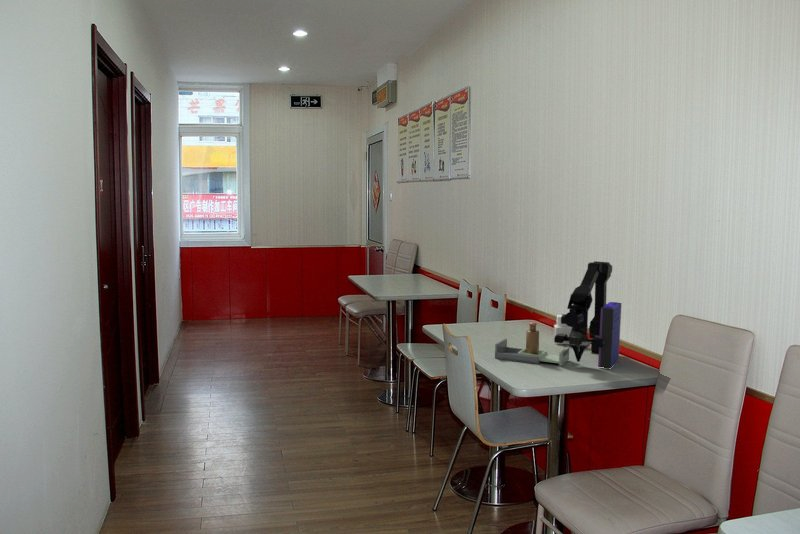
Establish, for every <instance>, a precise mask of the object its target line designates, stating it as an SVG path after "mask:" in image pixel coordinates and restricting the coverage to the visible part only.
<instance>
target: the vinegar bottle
mask: <svg viewBox="0 0 800 534" xmlns="http://www.w3.org/2000/svg"><path fill="white" fill-rule="evenodd" d="M528 325H529V329H527V330H526V331H525V348H526V353H528V354H536V355H539V350H540V330H538V329H537V322H534V321H533V322H529V323H528Z"/></svg>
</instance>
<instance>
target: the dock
mask: <svg viewBox="0 0 800 534" xmlns="http://www.w3.org/2000/svg"><path fill="white" fill-rule="evenodd" d="M523 349H524V348H519V347H513V346H511V347H510V346H508V339H507V338H504V339H502V340H500V341H498V342H496V343H495V347H494V359H497V358H499V360H505V359H507V361H512V360H513V362H521V363H527V364H537V365H539V364H540V363H542V362H543V361H539V357H532V356H524V355H518V352H520V351H521V350H523ZM546 354H548V352H547V351H546Z"/></svg>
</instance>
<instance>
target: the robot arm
mask: <svg viewBox="0 0 800 534" xmlns="http://www.w3.org/2000/svg"><path fill="white" fill-rule="evenodd" d="M587 263H588V264H587V269H586V272H585V273H584V276H583V278H582V280H581V283H580V285H579V286H577V287H575V288H574V290H573V291H572V293H571V294H570V297H569V300H568V304H567V307H566V308H567V310H569V311H568V312H567V313H566V315H565V317H564V321H565V323H566V325H568V326H570V327H572V330H571V333H570V335H569V337H568V335H567V334H560V333H559V334H557V335H556V336H555V338H554V337H553V342H554V343H555V342H556V343H562V342H564V341H569V345H568V347H571V348H572V350H573V352H574V355H575V359H576V362H578V363H579V362H581V360H582V357H583V355H584V352H585V350H586V349H587V348H589V347H590V351H591V354H596V353H599V348H601V347H603V343H604V340H603V339H599V338H600V317H601V308H602V307H603V306H605V305H606V304H607V288H608V286H607V284H608V283H607V282H608V281H609V279H610V278H611V277H612V273H613V265H612V264H611V263H610V262H608V261H595V260H594V261H593V262H587ZM593 288H594V315H593V318H592V319H591V320H590V322H589V327H588V321H589V319H588V318H589V310H590V308H591V306H592V304H593V295H592V291H593ZM588 334H589V335H588Z"/></svg>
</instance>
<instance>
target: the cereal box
mask: <svg viewBox="0 0 800 534" xmlns="http://www.w3.org/2000/svg"><path fill="white" fill-rule="evenodd" d="M621 319H622V302H617V301H616V302H614V301H608V303H606V305H605V306H603V307H602V308H601V317H600V338H599V339H603V340H604V343H603V347H601V348H599V354H598V362H597V363H598V364H597V368H598V367H604V368H611V367H612V366H613V365H614V364H615V363H616V362H617V363H618V361H619V360H618V359H620V358H619V357H620V342H621V341H620V340H621V339H620V338H621ZM617 360H618V361H617ZM617 363H616V364H617ZM616 364H615V365H616ZM615 365H614V366H615ZM614 366H613V367H614ZM613 367H612V368H613ZM612 368H611V369H612Z"/></svg>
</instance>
